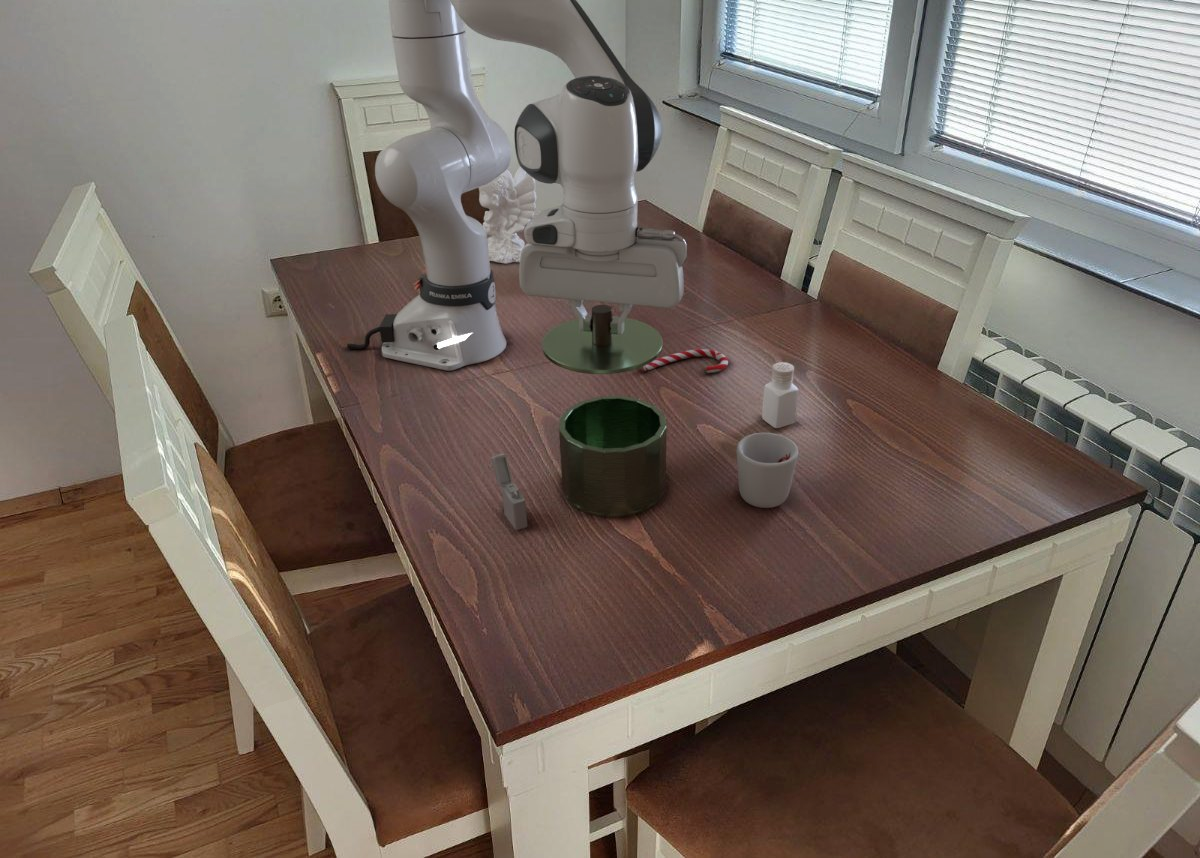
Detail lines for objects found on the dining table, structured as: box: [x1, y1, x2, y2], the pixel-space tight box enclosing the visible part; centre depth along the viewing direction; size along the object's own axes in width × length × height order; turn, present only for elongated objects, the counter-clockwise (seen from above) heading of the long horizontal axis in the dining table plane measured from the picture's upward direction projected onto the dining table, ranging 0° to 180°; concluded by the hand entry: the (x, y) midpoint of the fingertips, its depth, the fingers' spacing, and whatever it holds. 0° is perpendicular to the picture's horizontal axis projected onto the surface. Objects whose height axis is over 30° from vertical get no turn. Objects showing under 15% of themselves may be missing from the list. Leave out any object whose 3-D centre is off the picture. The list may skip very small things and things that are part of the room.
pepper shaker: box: [761, 361, 800, 429], centre depth 135 cm, size 4×4×10 cm
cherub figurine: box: [478, 165, 537, 264], centre depth 197 cm, size 13×12×20 cm
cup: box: [736, 432, 799, 509], centre depth 120 cm, size 11×8×8 cm
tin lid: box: [541, 304, 664, 375], centre depth 112 cm, size 15×15×6 cm
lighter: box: [490, 453, 529, 531], centre depth 117 cm, size 7×2×8 cm, turn 27°
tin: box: [558, 395, 668, 518], centre depth 121 cm, size 14×14×10 cm
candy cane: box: [641, 348, 729, 374], centre depth 153 cm, size 8×1×15 cm
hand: (601, 331), depth 112 cm, fingers closed on tin lid, 2 cm apart
